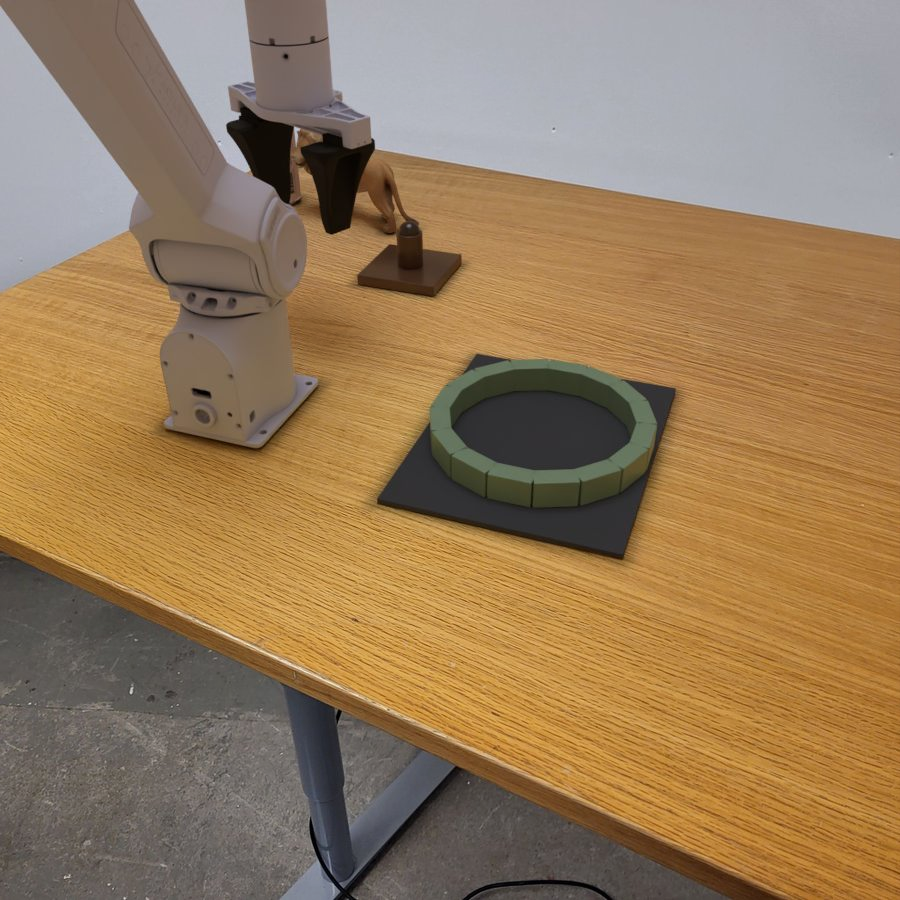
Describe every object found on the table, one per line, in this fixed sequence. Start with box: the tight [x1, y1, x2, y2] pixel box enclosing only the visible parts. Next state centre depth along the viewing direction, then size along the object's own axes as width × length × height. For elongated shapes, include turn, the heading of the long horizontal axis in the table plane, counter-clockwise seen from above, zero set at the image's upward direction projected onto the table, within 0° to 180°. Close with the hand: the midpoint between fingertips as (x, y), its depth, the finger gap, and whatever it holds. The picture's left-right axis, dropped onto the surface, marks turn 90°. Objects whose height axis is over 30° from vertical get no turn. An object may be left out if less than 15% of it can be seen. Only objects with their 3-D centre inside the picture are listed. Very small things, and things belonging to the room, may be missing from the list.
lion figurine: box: [290, 128, 420, 234], centre depth 98 cm, size 15×5×9 cm, turn 62°
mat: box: [376, 353, 677, 560], centre depth 66 cm, size 20×16×1 cm
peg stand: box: [356, 220, 463, 297], centre depth 87 cm, size 8×8×5 cm
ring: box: [429, 358, 657, 508], centre depth 65 cm, size 15×15×2 cm
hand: (307, 217), depth 75 cm, fingers open, 7 cm apart
